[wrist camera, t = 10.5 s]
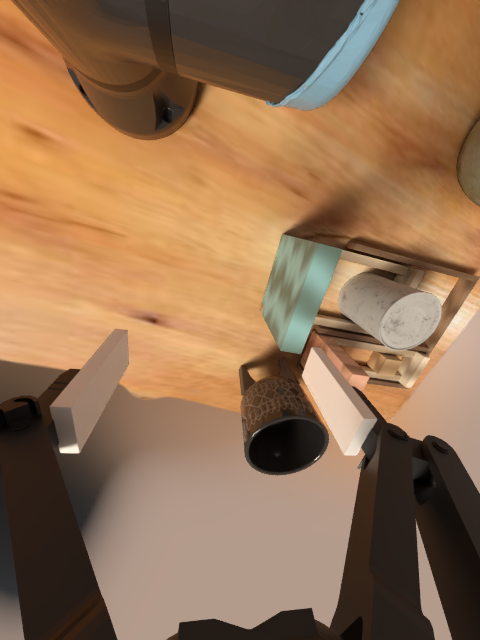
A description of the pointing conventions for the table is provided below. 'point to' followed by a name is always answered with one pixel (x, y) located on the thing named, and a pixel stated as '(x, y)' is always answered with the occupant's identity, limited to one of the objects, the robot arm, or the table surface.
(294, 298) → the can sled
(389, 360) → the oak cube
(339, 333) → the guide frame
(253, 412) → the planter
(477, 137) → the vase
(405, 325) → the speckled stone cylinder
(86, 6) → the robot arm
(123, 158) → the table surface
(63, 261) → the table surface
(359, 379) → the cube sled
